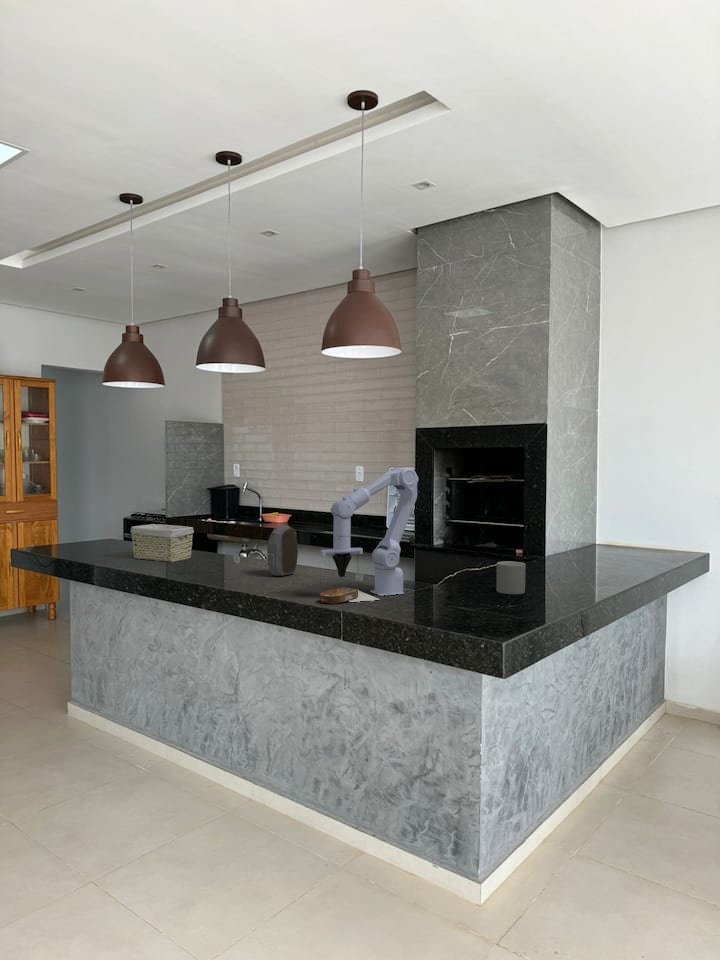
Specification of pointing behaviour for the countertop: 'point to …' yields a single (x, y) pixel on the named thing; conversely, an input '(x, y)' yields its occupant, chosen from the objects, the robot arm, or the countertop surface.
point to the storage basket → (162, 542)
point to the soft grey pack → (282, 551)
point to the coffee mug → (510, 577)
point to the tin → (339, 595)
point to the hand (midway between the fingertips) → (341, 576)
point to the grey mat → (363, 597)
